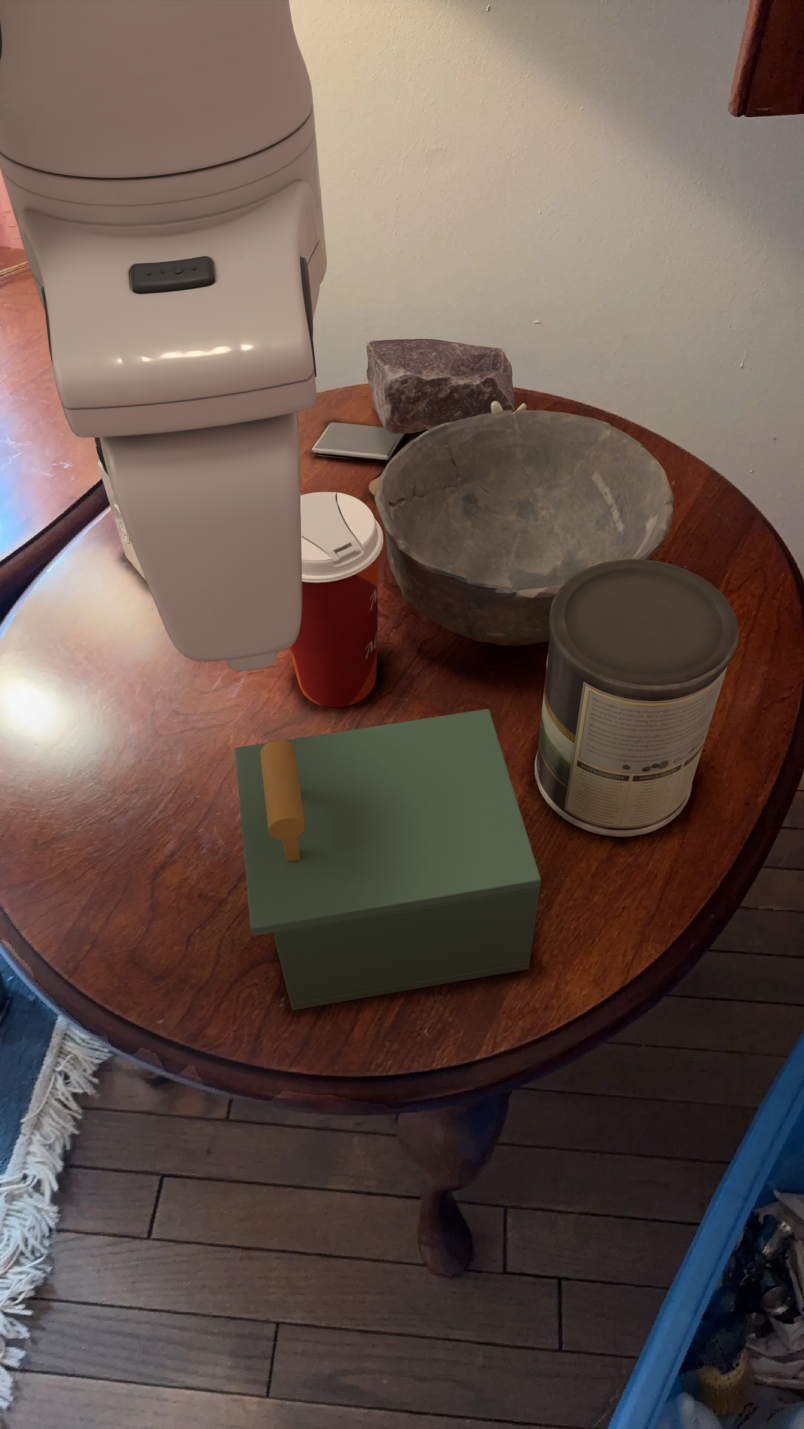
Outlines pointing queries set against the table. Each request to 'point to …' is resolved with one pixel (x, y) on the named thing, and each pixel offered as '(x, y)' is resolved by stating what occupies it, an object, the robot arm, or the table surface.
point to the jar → (117, 511)
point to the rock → (435, 382)
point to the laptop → (358, 442)
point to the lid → (379, 822)
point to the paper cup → (337, 599)
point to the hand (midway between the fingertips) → (243, 572)
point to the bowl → (515, 516)
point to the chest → (408, 949)
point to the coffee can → (630, 693)
